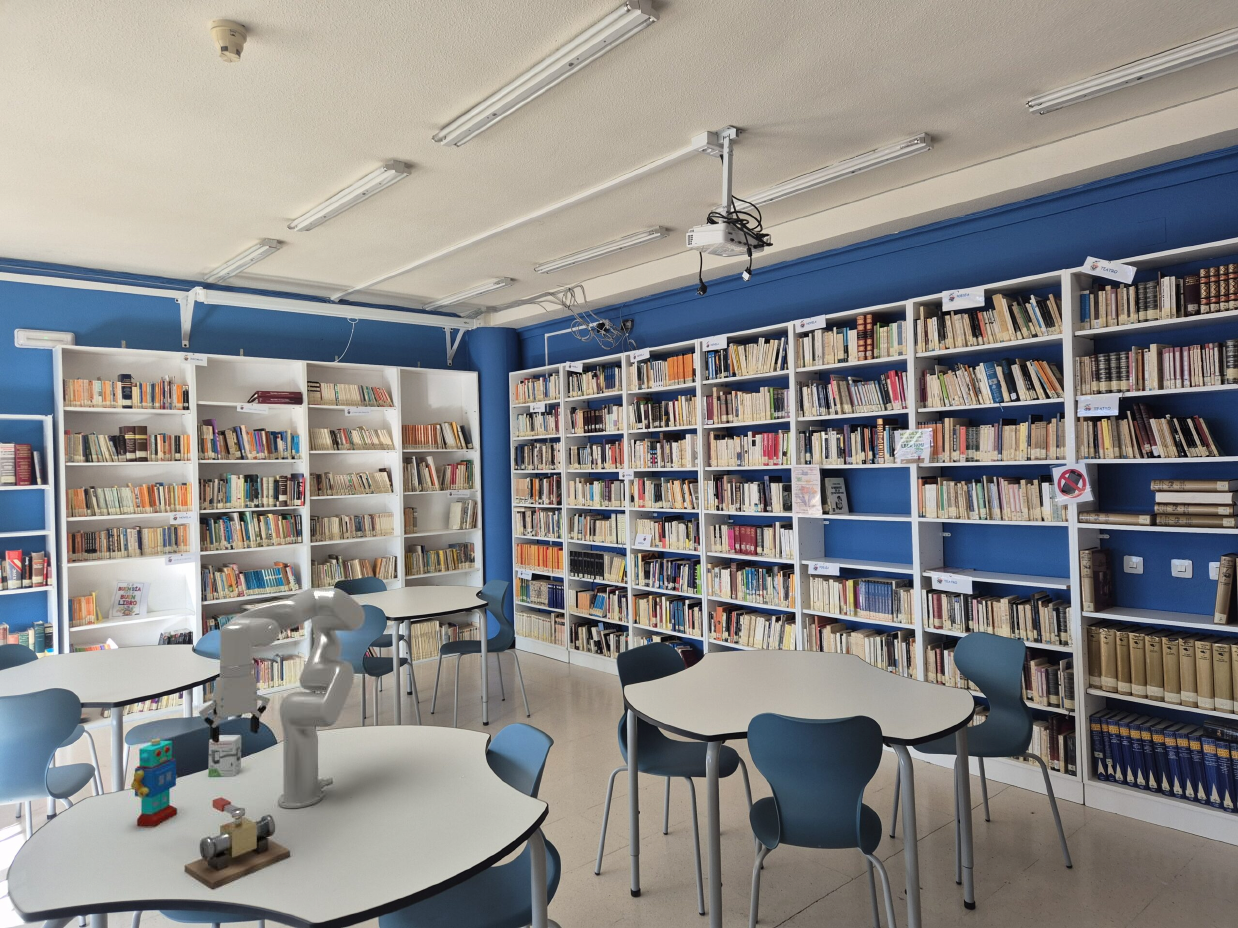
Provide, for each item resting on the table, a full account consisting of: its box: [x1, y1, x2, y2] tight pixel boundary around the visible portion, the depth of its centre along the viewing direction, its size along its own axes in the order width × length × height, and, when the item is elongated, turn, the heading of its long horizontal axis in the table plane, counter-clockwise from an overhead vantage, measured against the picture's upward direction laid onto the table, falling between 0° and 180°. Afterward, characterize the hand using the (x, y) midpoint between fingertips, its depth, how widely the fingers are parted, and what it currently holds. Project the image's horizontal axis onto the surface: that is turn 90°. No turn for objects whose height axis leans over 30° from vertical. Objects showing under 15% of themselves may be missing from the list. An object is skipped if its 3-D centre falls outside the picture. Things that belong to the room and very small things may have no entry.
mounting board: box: [184, 838, 291, 890], centre depth 186 cm, size 19×14×2 cm
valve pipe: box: [199, 814, 276, 871], centre depth 186 cm, size 16×6×10 cm, turn 143°
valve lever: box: [212, 796, 246, 819], centre depth 189 cm, size 12×3×2 cm, turn 53°
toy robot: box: [130, 729, 178, 828], centre depth 212 cm, size 12×6×25 cm, turn 168°
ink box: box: [207, 734, 242, 778], centre depth 245 cm, size 9×5×12 cm, turn 93°
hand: (235, 736), depth 198 cm, fingers open, 9 cm apart
